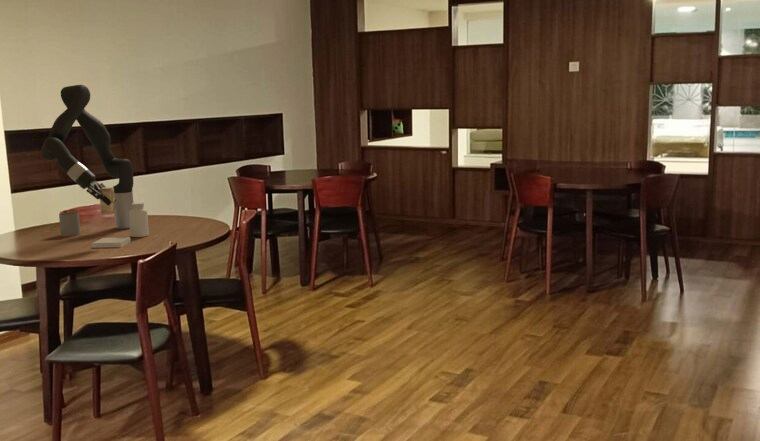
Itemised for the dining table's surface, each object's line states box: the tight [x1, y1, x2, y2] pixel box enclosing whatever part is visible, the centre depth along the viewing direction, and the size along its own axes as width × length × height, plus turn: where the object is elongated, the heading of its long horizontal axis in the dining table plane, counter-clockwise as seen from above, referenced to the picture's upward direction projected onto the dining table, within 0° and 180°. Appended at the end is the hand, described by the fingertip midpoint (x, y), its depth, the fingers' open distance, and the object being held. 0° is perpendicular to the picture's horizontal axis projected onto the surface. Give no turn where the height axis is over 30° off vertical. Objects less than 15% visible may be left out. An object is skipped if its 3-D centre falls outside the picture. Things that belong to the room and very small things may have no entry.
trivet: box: [91, 236, 132, 249], centre depth 323 cm, size 12×12×2 cm
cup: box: [58, 211, 81, 237], centre depth 350 cm, size 8×8×10 cm
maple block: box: [99, 186, 116, 216], centre depth 320 cm, size 4×4×11 cm
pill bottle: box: [129, 202, 150, 238], centre depth 341 cm, size 8×8×15 cm
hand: (112, 202), depth 320 cm, fingers closed on maple block, 4 cm apart
